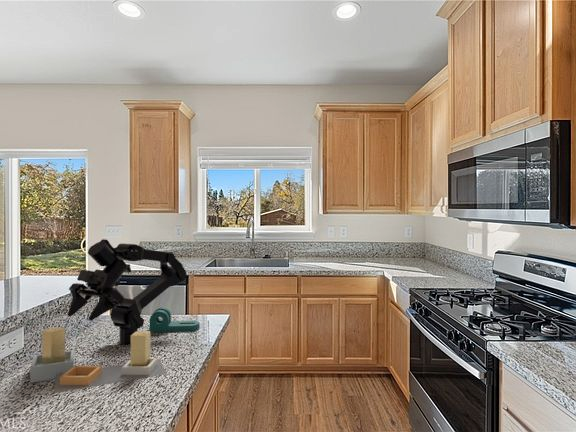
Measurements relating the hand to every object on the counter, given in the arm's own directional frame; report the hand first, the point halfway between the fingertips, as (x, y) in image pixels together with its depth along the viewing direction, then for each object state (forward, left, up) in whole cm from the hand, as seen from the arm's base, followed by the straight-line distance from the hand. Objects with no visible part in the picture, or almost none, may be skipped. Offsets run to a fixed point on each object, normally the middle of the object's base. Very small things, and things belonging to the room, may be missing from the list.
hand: (79, 317), depth 119 cm
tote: (+5, -6, -13) cm, 16 cm away
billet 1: (+5, -6, -11) cm, 14 cm away
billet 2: (+17, +15, -12) cm, 26 cm away
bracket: (-23, +33, -14) cm, 42 cm away
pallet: (+17, +7, -13) cm, 23 cm away
